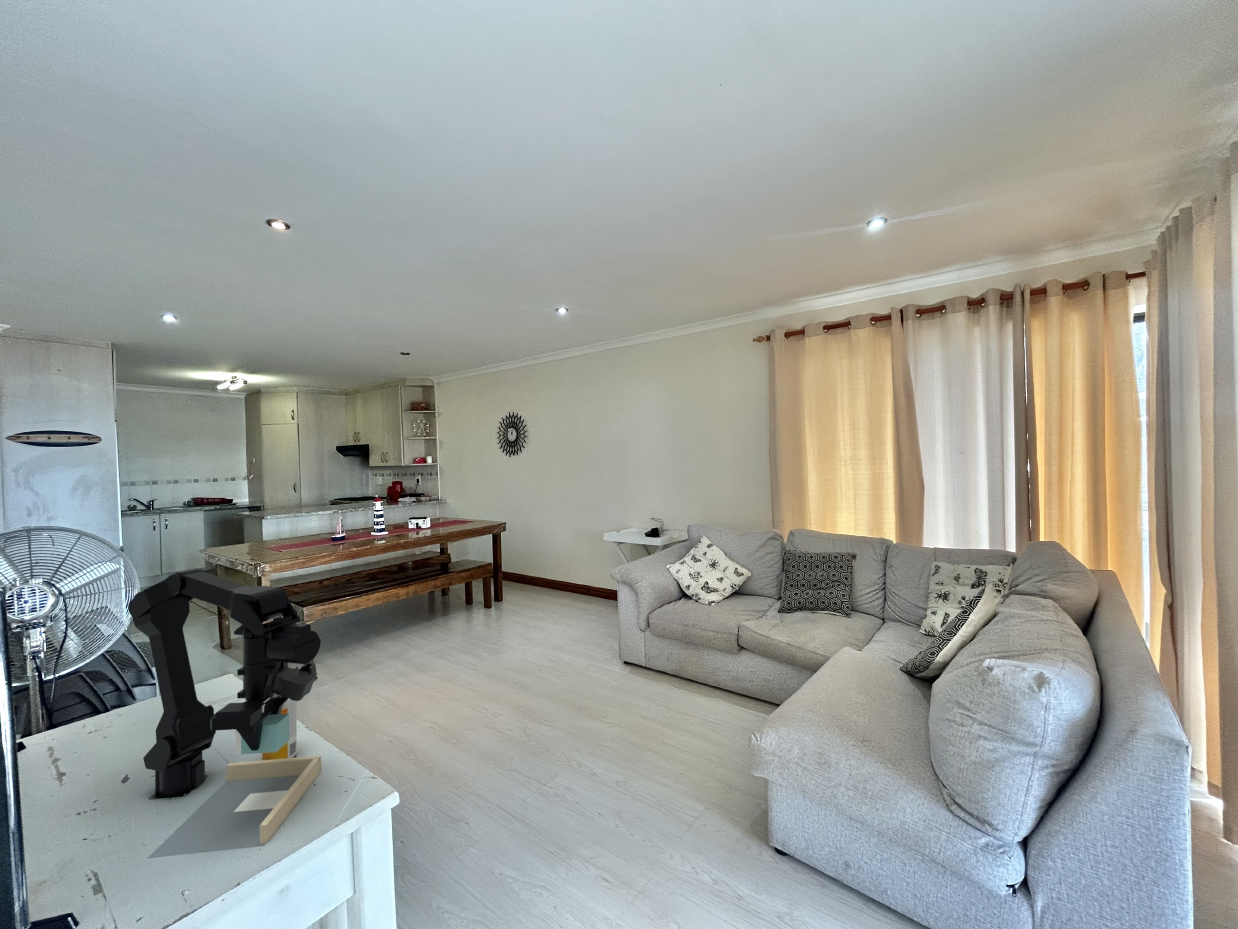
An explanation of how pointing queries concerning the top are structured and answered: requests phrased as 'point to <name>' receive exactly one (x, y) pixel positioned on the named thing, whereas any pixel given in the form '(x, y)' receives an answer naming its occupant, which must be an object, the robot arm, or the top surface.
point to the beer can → (291, 745)
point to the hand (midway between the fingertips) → (262, 743)
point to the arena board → (244, 806)
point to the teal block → (267, 736)
